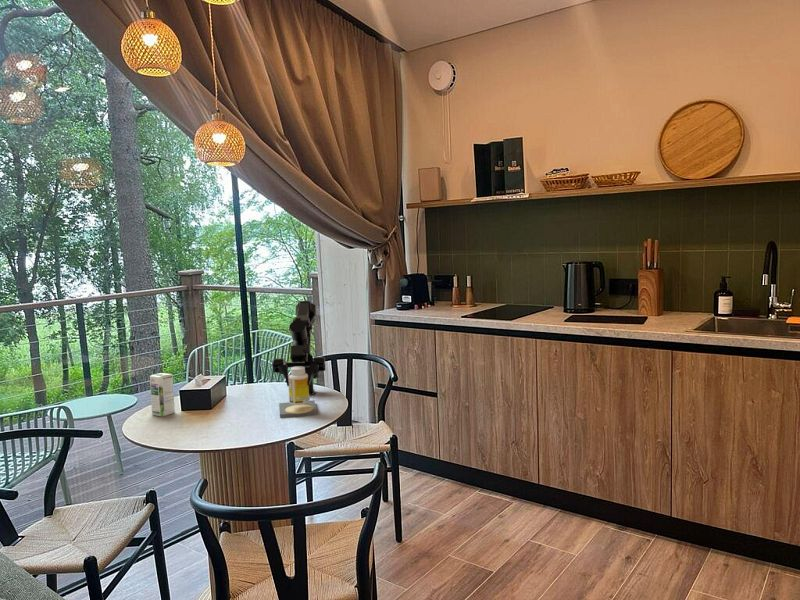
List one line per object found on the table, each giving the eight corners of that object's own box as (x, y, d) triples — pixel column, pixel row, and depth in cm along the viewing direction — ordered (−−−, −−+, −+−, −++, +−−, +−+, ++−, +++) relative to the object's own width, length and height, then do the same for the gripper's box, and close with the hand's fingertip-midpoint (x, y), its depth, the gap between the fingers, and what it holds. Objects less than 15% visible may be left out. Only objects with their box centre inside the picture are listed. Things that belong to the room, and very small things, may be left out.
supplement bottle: (313, 401, 209) (311, 366, 208) (301, 406, 203) (299, 370, 202) (297, 399, 212) (295, 364, 211) (285, 404, 206) (283, 368, 205)
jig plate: (279, 406, 217) (279, 402, 216) (314, 403, 219) (314, 399, 219) (279, 418, 202) (279, 414, 201) (317, 415, 204) (317, 411, 204)
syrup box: (151, 415, 210) (148, 375, 208) (164, 410, 215) (162, 372, 213) (162, 417, 207) (159, 377, 205) (175, 412, 212) (173, 373, 211)
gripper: (271, 336, 208) (267, 374, 199) (323, 335, 209) (322, 372, 200) (275, 353, 217) (272, 390, 208) (326, 352, 218) (325, 388, 209)
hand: (298, 385), depth 206 cm, fingers closed on supplement bottle, 7 cm apart
